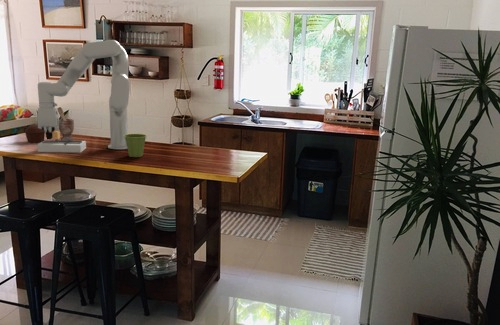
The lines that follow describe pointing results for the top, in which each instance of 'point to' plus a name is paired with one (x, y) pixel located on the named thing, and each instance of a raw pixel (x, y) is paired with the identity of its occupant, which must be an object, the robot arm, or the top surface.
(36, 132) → the muffin
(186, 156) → the top surface
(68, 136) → the mortar and pestle
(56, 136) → the slider tab
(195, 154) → the top surface
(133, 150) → the plant pot
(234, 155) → the top surface
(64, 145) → the control panel
